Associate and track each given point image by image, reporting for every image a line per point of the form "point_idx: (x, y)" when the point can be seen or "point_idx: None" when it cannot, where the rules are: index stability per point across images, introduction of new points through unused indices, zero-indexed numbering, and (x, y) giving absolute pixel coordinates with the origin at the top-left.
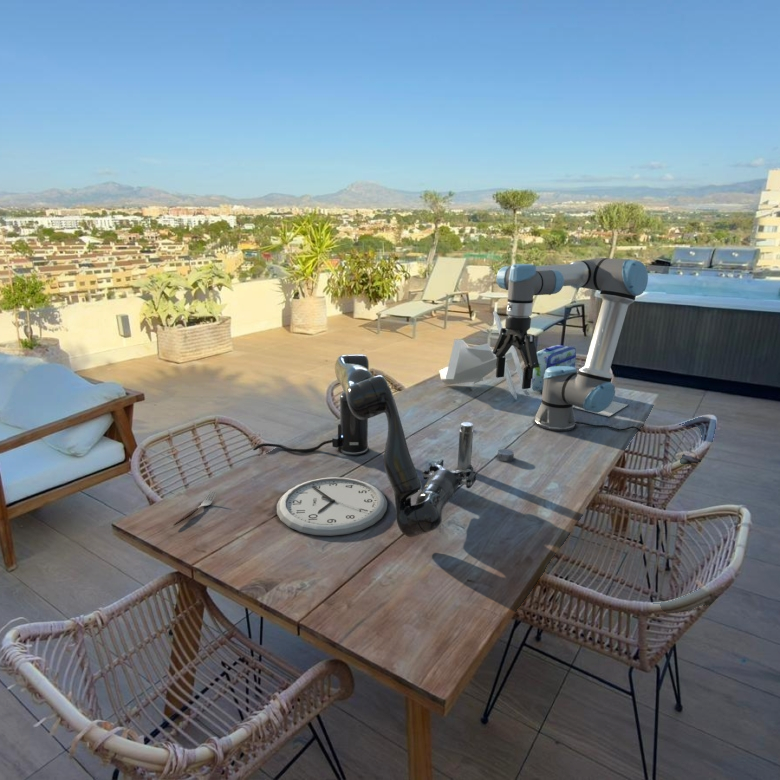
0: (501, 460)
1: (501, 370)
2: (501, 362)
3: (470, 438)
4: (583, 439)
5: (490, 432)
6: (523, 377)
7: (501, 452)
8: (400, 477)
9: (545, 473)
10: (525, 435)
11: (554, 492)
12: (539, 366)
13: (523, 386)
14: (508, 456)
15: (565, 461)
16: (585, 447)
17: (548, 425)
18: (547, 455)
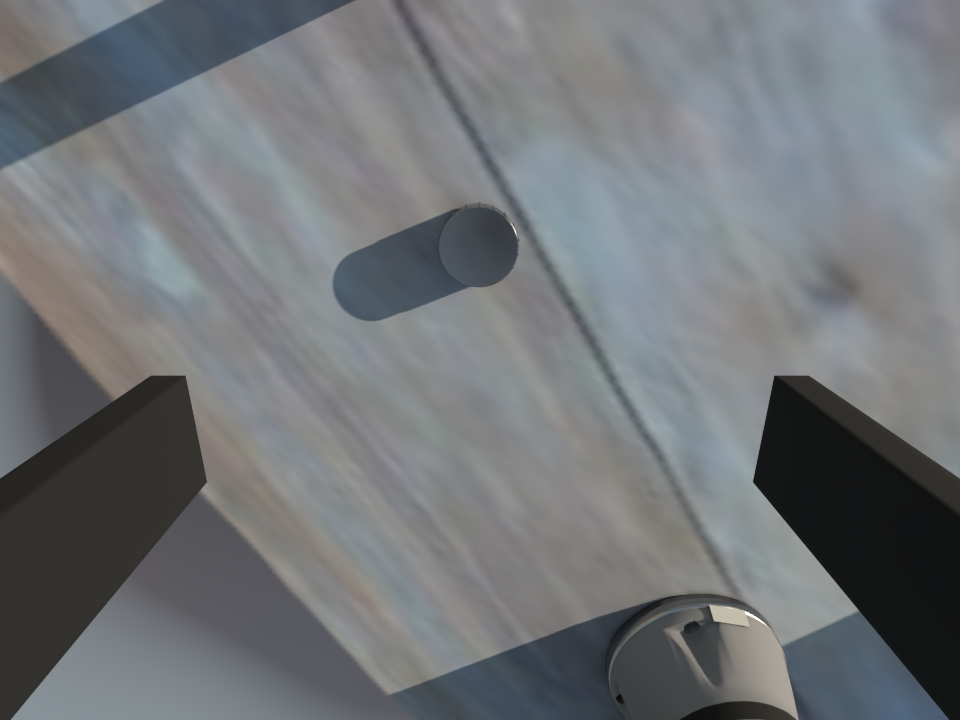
0: (462, 207)
1: (820, 495)
2: (936, 591)
3: None
4: (510, 653)
5: (772, 365)
6: (54, 462)
7: (482, 222)
8: None
9: (280, 316)
10: (655, 488)
11: (107, 231)
12: None
13: (132, 392)
14: (440, 236)
15: (358, 465)
16: (444, 612)
17: (660, 618)
18: (435, 439)
